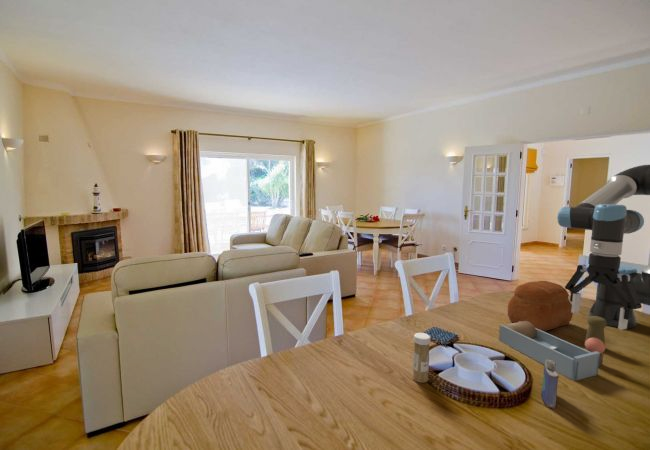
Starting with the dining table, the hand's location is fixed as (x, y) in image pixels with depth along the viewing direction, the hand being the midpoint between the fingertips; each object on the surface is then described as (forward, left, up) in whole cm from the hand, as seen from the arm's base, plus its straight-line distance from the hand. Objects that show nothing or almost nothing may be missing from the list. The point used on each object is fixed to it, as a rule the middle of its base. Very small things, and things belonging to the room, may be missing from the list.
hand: (597, 320), depth 106 cm
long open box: (+11, -9, -14) cm, 20 cm away
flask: (+31, +8, -15) cm, 35 cm away
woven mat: (+35, -31, -15) cm, 49 cm away
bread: (-13, -29, -15) cm, 35 cm away
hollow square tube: (0, 0, -14) cm, 14 cm away
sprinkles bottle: (+58, -11, -15) cm, 61 cm away
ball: (0, 0, -9) cm, 9 cm away
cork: (-12, -7, -15) cm, 20 cm away
